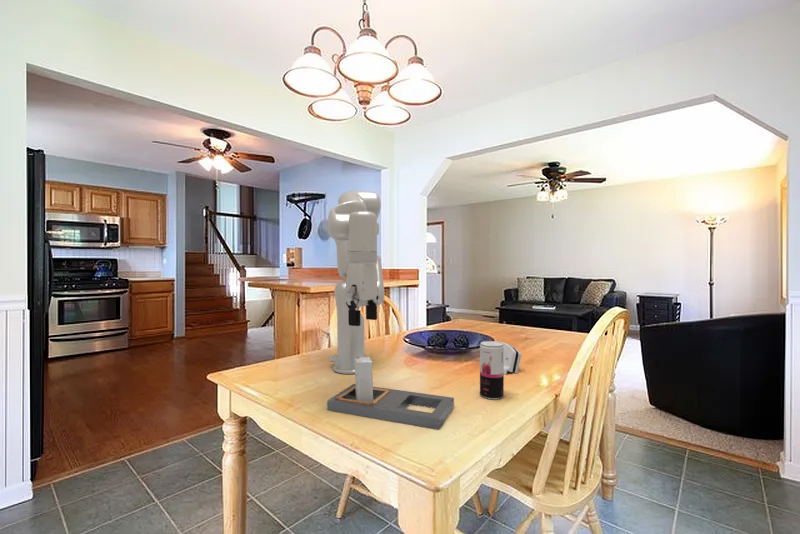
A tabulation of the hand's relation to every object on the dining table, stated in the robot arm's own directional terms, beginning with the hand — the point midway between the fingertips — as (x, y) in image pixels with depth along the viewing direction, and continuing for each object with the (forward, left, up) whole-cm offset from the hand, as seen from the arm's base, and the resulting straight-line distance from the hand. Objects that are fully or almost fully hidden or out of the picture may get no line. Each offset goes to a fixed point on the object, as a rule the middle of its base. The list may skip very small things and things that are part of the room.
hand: (363, 322), depth 102 cm
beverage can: (+31, +19, -22) cm, 43 cm away
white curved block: (+30, +49, -23) cm, 61 cm away
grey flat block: (+8, 0, -22) cm, 24 cm away
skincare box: (0, 0, -22) cm, 22 cm away
